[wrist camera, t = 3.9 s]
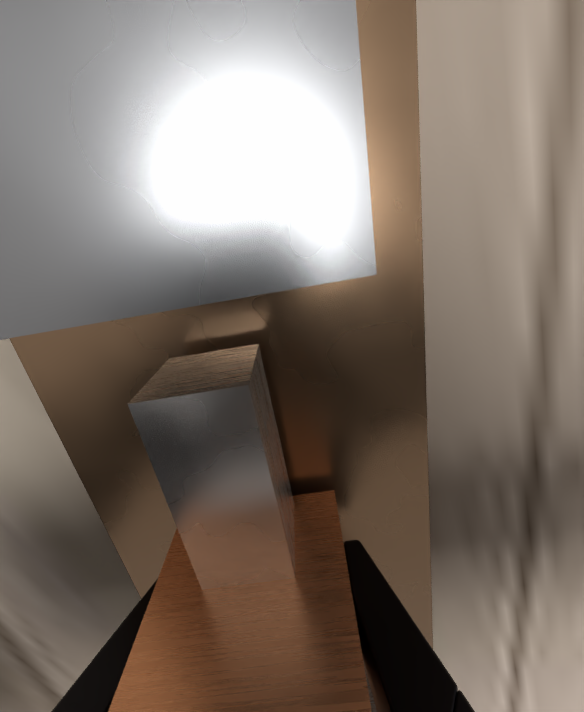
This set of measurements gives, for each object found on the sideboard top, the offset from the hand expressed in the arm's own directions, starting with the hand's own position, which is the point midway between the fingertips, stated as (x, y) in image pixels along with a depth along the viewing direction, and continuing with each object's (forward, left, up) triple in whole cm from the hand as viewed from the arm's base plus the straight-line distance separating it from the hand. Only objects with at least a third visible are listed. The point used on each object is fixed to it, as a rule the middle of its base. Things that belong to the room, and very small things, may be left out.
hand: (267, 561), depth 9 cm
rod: (-2, -1, -1) cm, 2 cm away
